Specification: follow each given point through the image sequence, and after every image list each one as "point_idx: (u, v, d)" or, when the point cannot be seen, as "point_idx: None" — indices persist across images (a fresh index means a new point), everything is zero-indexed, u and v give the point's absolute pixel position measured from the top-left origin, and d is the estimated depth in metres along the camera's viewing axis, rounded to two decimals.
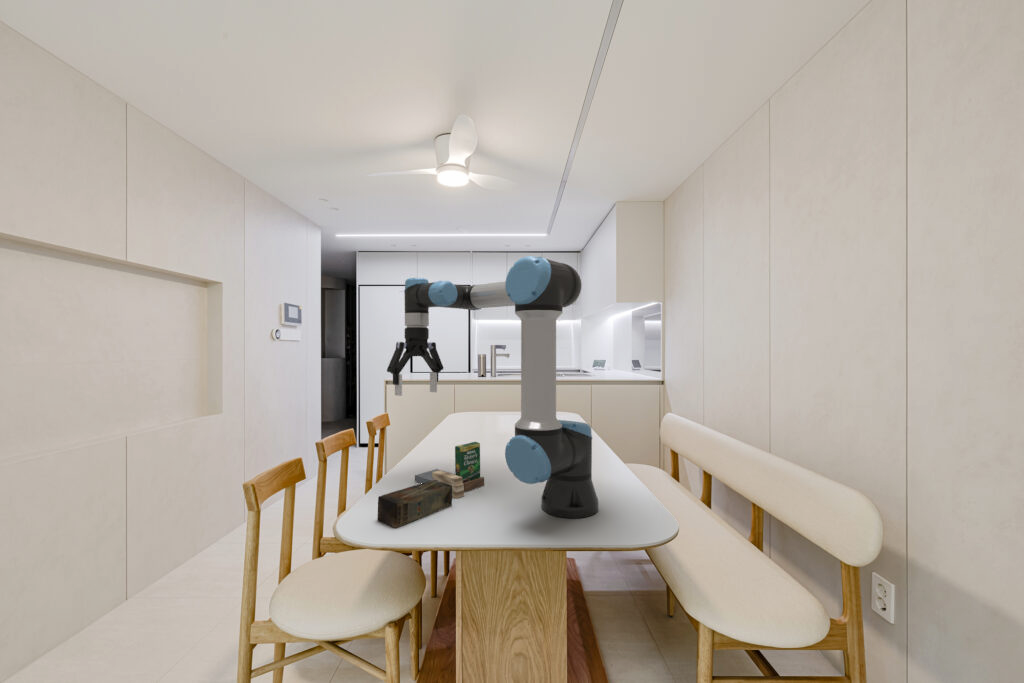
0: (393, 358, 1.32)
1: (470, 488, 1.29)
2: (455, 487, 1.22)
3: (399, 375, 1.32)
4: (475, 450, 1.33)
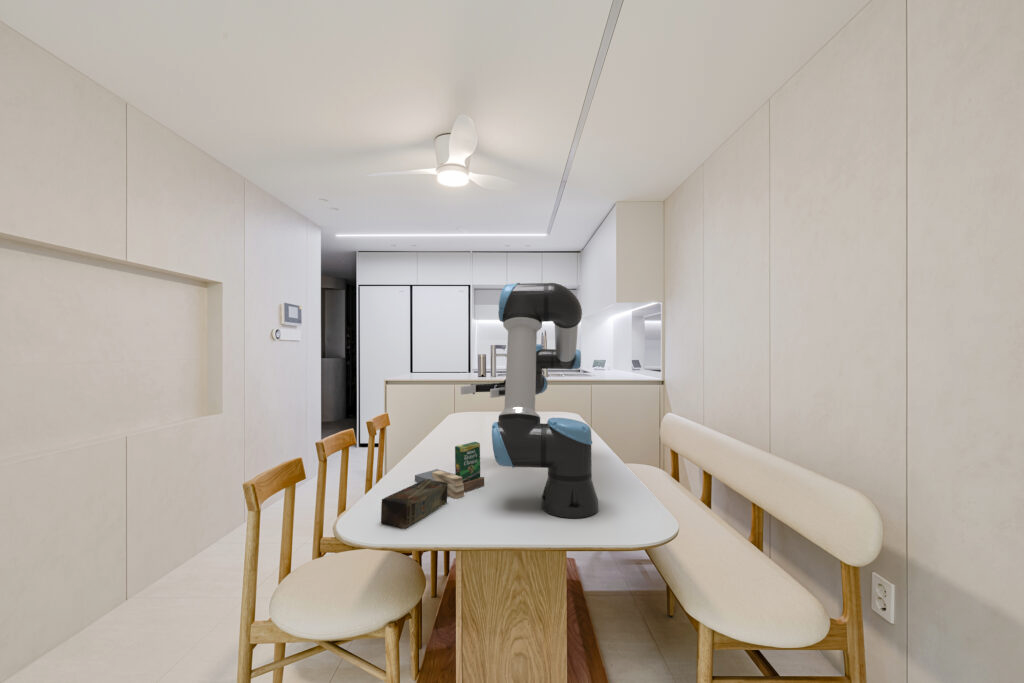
0: None
1: (470, 488, 1.29)
2: (455, 487, 1.22)
3: None
4: (475, 450, 1.33)
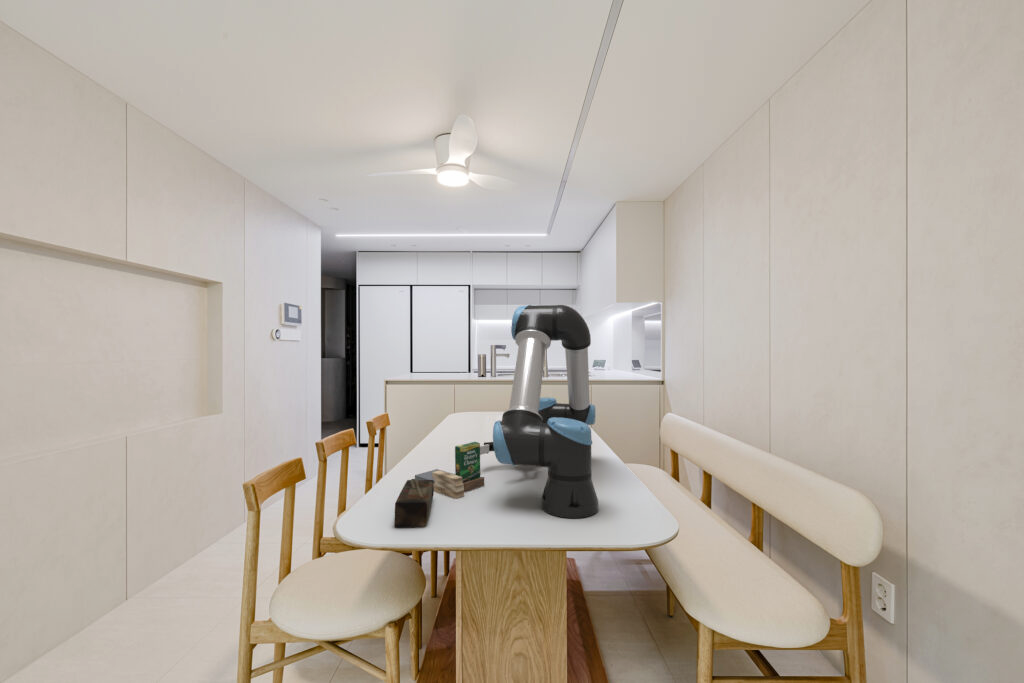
0: None
1: (470, 488, 1.29)
2: (455, 487, 1.22)
3: None
4: (475, 450, 1.33)
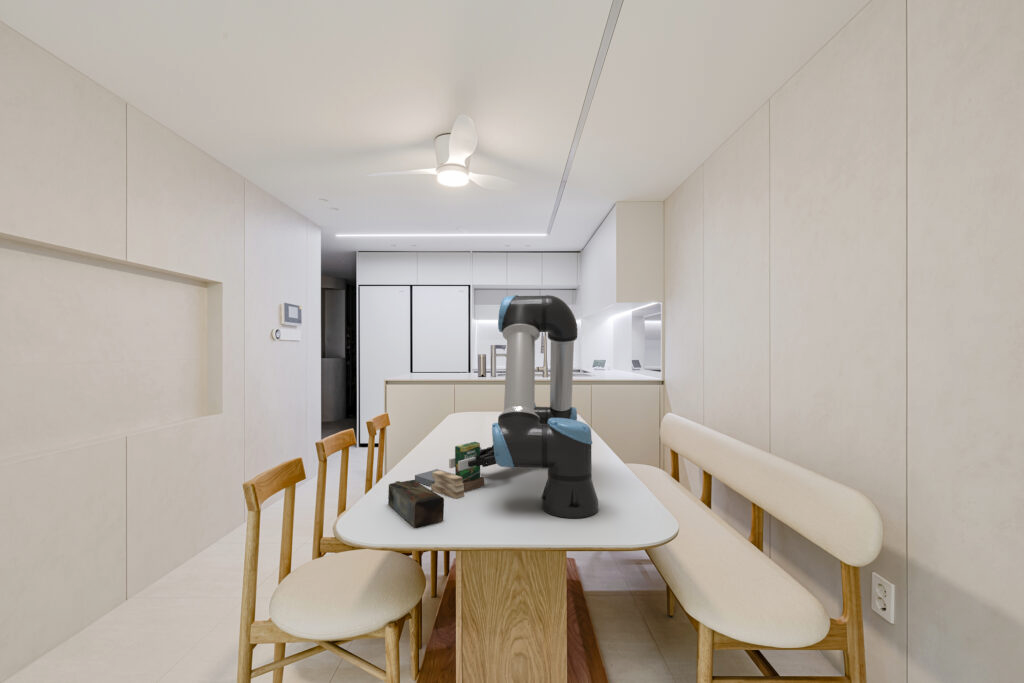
0: None
1: (470, 488, 1.29)
2: (455, 487, 1.22)
3: None
4: (475, 450, 1.33)
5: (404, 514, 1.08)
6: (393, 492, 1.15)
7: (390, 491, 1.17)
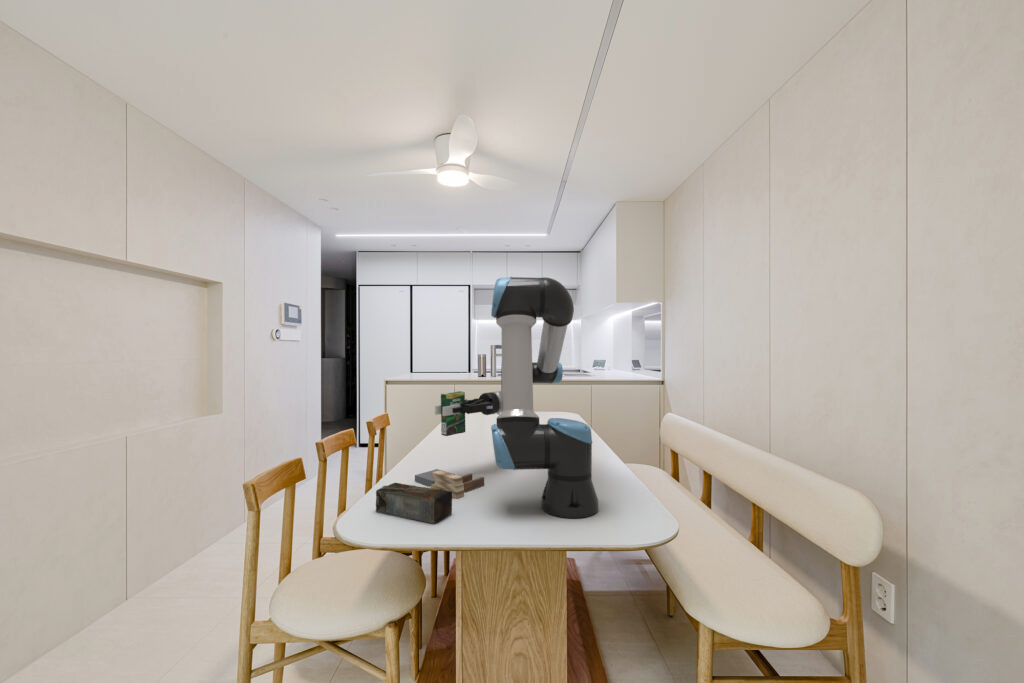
0: None
1: (470, 488, 1.29)
2: (455, 487, 1.22)
3: None
4: (460, 399, 1.37)
5: (413, 515, 1.07)
6: (387, 496, 1.11)
7: (380, 497, 1.12)
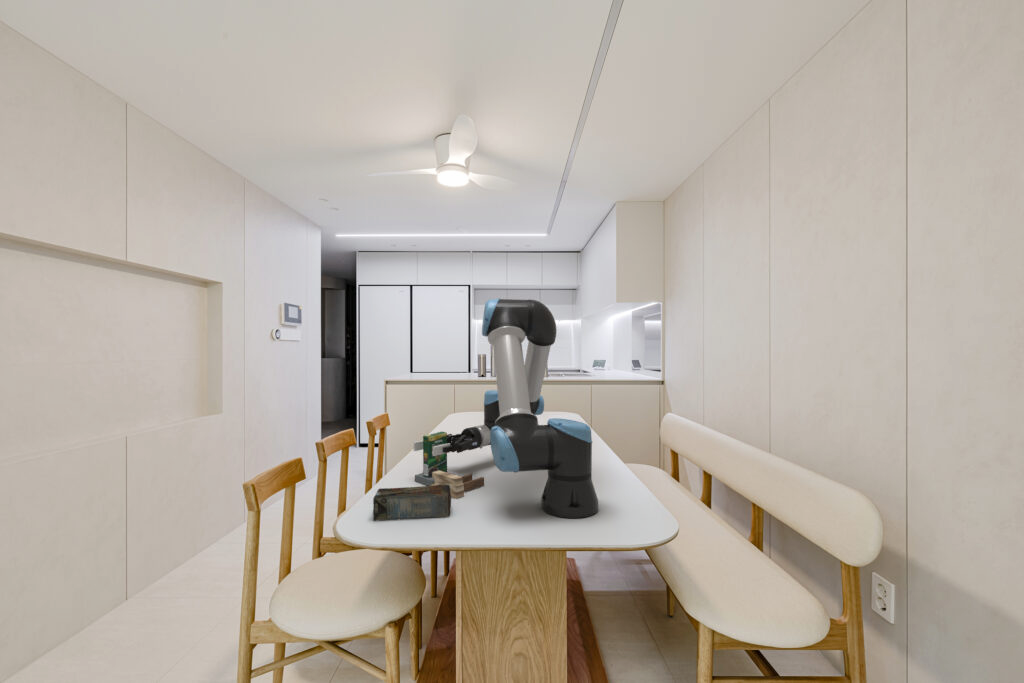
0: None
1: (470, 488, 1.29)
2: (455, 487, 1.22)
3: None
4: (442, 440, 1.39)
5: (423, 513, 1.08)
6: (388, 502, 1.07)
7: (379, 504, 1.07)
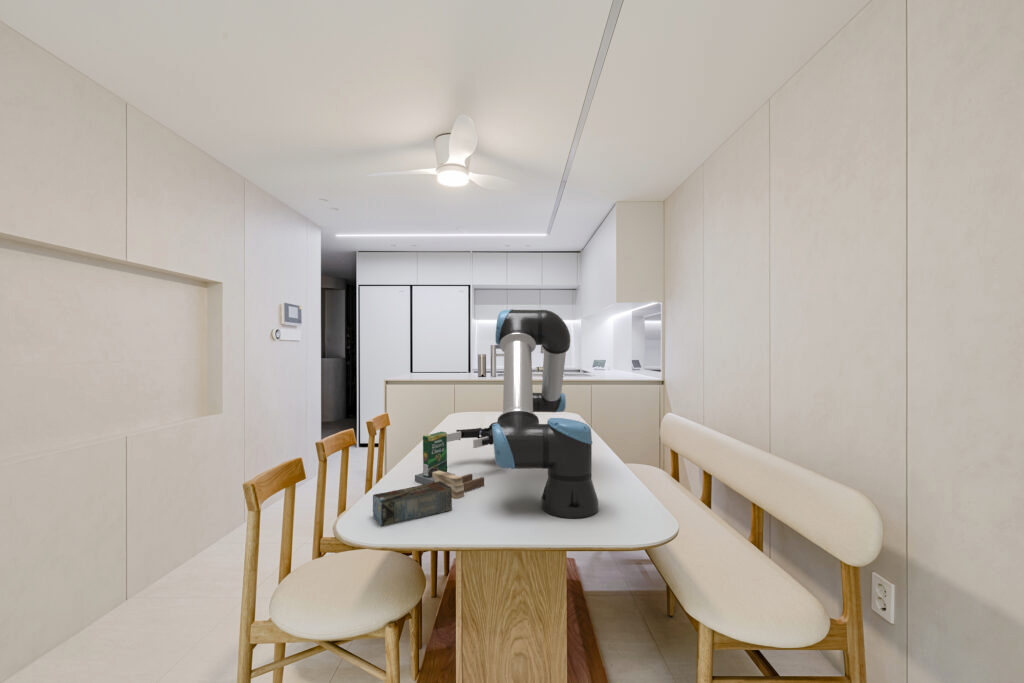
0: None
1: (470, 488, 1.29)
2: (455, 487, 1.22)
3: None
4: (442, 440, 1.39)
5: (429, 511, 1.10)
6: (396, 504, 1.05)
7: (387, 508, 1.04)
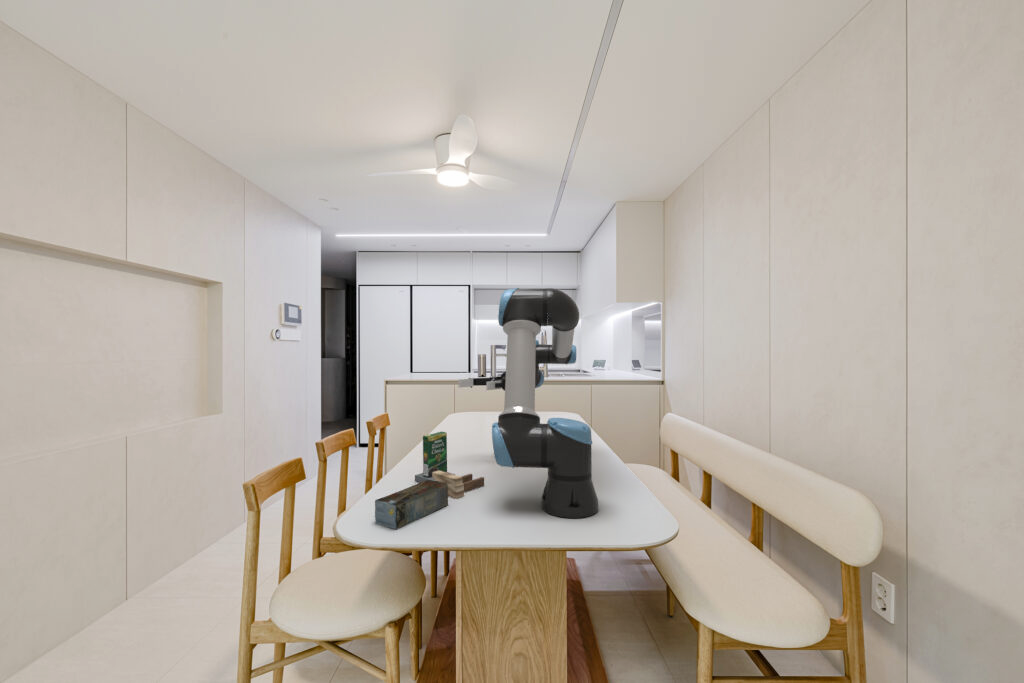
0: None
1: (470, 488, 1.29)
2: (455, 487, 1.22)
3: None
4: (442, 440, 1.39)
5: (432, 508, 1.12)
6: (406, 506, 1.05)
7: (399, 511, 1.03)
